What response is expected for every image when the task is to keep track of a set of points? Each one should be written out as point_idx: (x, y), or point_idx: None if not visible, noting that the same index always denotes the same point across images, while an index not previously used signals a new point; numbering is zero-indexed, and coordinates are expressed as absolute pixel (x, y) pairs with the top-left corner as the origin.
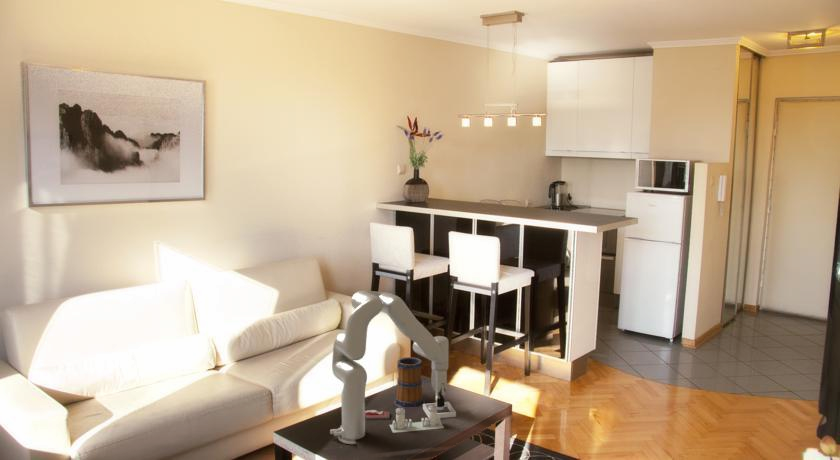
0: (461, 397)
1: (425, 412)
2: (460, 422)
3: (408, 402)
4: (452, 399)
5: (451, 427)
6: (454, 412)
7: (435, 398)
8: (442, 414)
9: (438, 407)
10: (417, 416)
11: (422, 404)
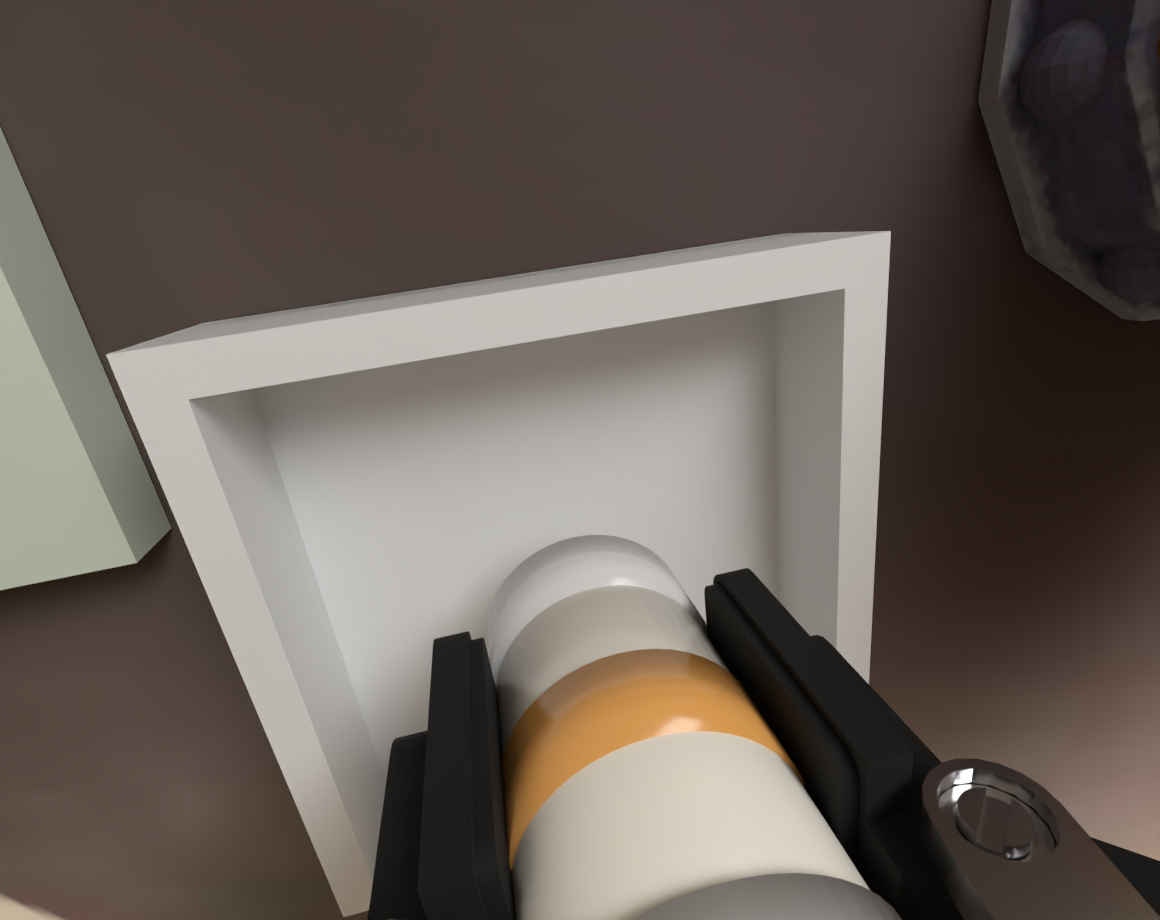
0: (1096, 804)
1: (570, 272)
2: (266, 840)
3: None
4: (1083, 714)
5: (4, 728)
6: (336, 891)
7: (678, 712)
8: (256, 670)
9: (495, 634)
10: (545, 69)
11: (1064, 259)
